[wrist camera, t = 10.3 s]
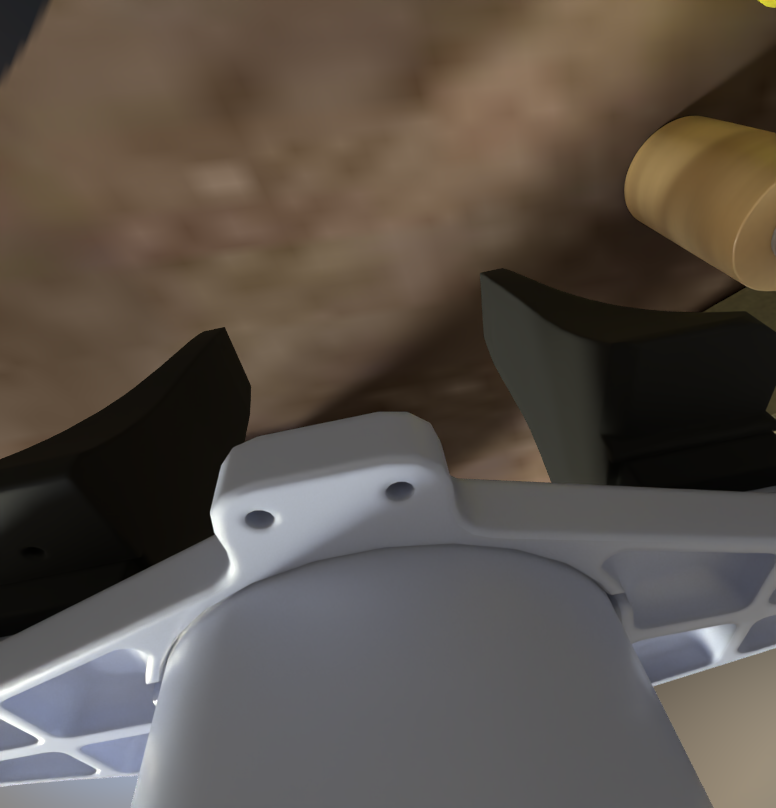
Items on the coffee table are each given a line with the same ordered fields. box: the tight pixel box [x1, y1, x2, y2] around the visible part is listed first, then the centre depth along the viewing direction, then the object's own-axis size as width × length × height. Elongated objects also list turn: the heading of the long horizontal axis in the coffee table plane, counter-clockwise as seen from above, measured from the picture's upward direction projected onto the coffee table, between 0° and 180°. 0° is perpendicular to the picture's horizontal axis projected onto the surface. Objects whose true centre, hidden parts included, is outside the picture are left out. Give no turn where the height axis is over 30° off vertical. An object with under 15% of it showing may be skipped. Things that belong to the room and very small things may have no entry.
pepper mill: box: [624, 116, 776, 291], centre depth 18 cm, size 5×5×9 cm
